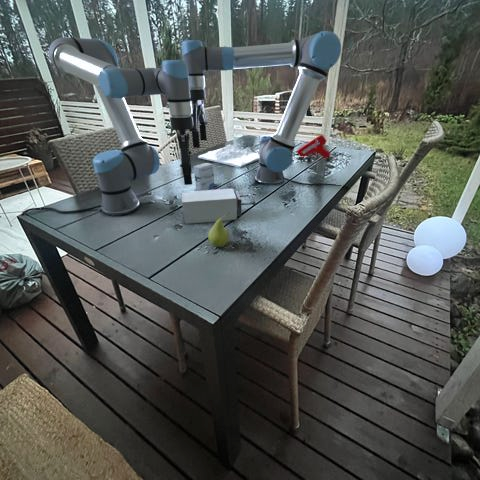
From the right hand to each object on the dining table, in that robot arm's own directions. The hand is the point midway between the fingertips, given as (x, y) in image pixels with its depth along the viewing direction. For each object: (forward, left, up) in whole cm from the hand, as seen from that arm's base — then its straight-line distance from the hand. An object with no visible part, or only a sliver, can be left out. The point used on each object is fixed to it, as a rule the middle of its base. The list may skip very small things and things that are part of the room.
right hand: (200, 143), depth 119 cm
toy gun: (-44, -74, -23) cm, 89 cm away
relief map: (+8, -60, -23) cm, 64 cm away
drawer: (-17, +19, -22) cm, 34 cm away
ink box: (+2, -5, -23) cm, 23 cm away
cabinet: (-12, +21, -23) cm, 34 cm away
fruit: (-24, +40, -23) cm, 52 cm away
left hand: (-6, +25, -6) cm, 26 cm away
